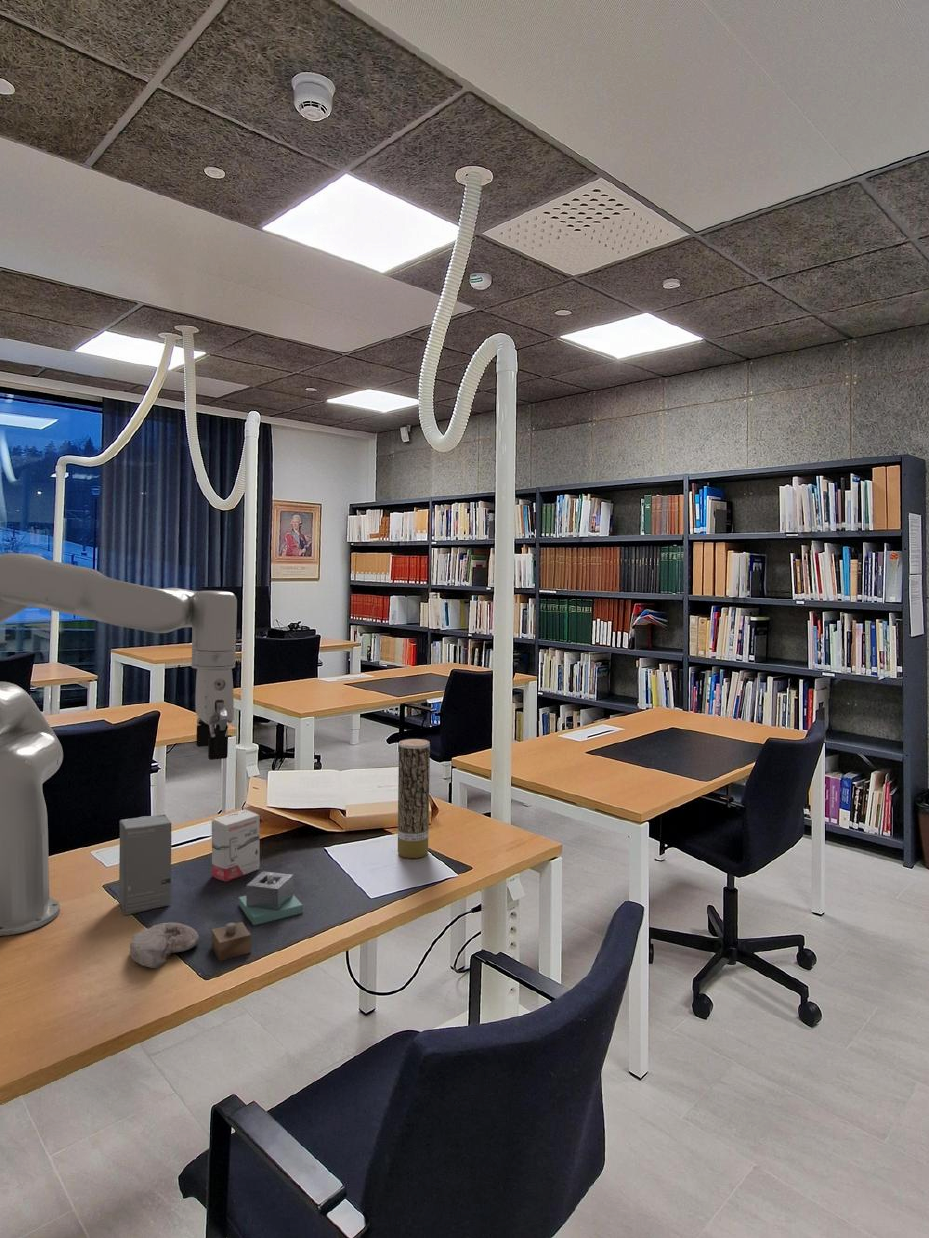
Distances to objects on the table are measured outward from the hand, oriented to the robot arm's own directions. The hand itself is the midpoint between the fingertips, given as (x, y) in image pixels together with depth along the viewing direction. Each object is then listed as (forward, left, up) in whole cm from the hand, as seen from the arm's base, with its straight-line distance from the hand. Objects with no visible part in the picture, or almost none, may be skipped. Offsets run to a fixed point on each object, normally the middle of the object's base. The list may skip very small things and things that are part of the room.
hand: (211, 752), depth 131 cm
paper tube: (+44, +2, -29) cm, 53 cm away
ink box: (+8, +12, -29) cm, 33 cm away
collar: (+9, -7, -28) cm, 30 cm away
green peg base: (+9, -7, -29) cm, 31 cm away
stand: (-1, -17, -29) cm, 34 cm away
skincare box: (-10, +7, -29) cm, 32 cm away
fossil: (-11, -12, -30) cm, 34 cm away
